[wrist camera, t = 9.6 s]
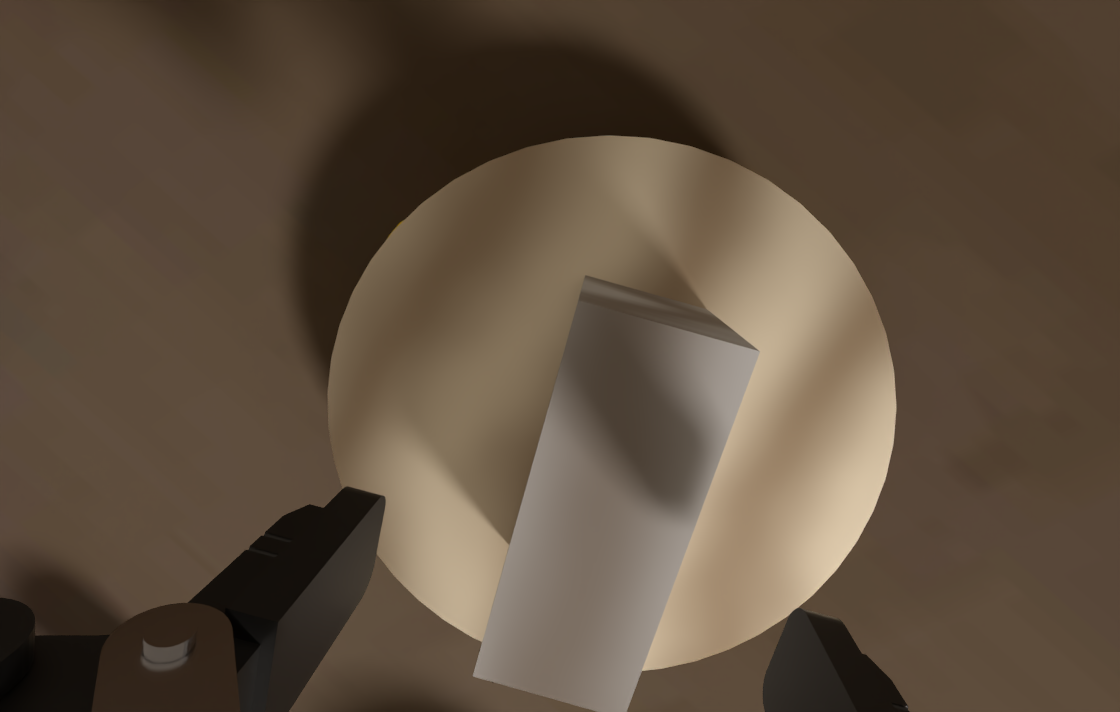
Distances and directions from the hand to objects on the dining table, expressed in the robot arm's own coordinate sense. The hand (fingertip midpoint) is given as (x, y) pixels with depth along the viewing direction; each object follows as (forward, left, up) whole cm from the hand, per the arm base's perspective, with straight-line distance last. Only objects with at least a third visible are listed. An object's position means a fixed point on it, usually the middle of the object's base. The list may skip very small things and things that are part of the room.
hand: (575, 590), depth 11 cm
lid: (-1, 0, -10) cm, 10 cm away
